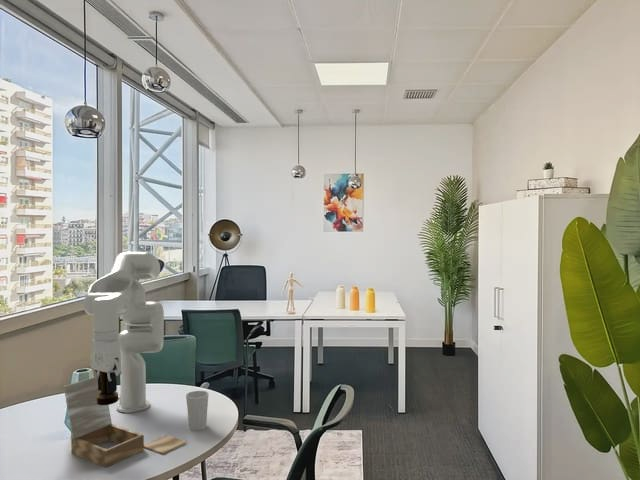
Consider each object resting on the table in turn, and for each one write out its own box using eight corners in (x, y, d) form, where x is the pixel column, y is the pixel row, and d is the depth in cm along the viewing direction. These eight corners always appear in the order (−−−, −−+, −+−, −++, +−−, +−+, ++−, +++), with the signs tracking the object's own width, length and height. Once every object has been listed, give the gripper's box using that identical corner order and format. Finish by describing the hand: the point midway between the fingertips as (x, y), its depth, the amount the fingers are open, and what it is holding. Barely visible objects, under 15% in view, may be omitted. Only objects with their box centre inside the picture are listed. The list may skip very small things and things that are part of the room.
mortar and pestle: (100, 398, 170) (99, 344, 169) (120, 397, 171) (119, 344, 170) (93, 405, 164) (92, 350, 163) (114, 405, 164) (113, 350, 163)
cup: (203, 432, 183) (202, 398, 182) (182, 430, 184) (182, 397, 184) (212, 423, 191) (212, 391, 190) (192, 421, 192) (191, 390, 192)
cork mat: (142, 447, 170) (142, 445, 170) (166, 436, 179) (166, 434, 179) (163, 454, 165) (162, 452, 165) (186, 443, 174) (186, 441, 174)
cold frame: (64, 450, 168) (63, 385, 167) (102, 435, 180) (101, 374, 179) (106, 467, 157) (104, 397, 156) (143, 449, 169) (143, 385, 168)
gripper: (79, 334, 167) (81, 389, 168) (112, 341, 158) (113, 399, 160) (100, 329, 174) (101, 382, 175) (132, 336, 165) (133, 392, 166)
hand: (107, 390), depth 167 cm, fingers closed on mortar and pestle, 3 cm apart
